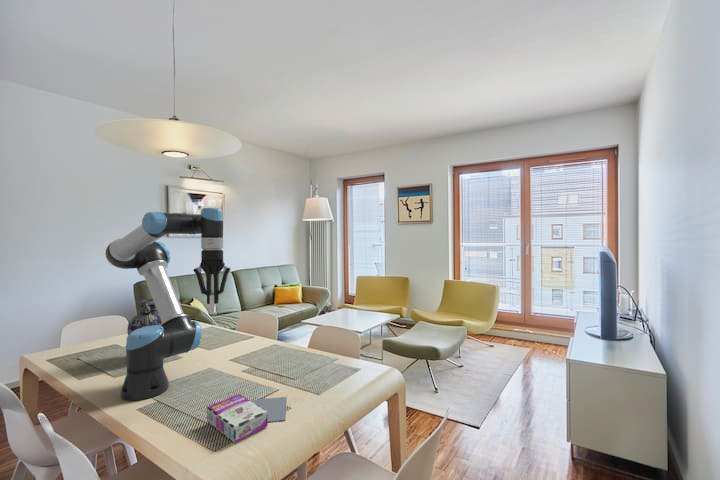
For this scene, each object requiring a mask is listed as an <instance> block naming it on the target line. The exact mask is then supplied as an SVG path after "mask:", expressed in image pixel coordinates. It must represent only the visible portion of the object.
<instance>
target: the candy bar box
mask: <svg viewBox="0 0 720 480" xmlns="http://www.w3.org/2000/svg"><path fill="white" fill-rule="evenodd" d="M250 400H251V399H248V398H246V397H245V396H243V395H241V394H240V393H238V394H236V395H233V396H231V397H229V398H227V399H223V400H221V401H218V402H216V403H214V404H210V405H209V406H206V422H207V423H208V424H209V425H211V426H212V427H213V428H215V429H216V430H217V431H218V432H220V433H221V434H222V435H223V436H224V437H225V438H227V439H228V440H229V441H231V442H232V443H233V444H236V443H238V442H240V441H242V440H244V439H246V438H248V437H250V436H251V435H253V434H255V433H257V432H260V430H263V429H265V428H266V427H268V424H269V422H268V421H267V411H266V410H264V409H263V408H261V407H259V406H258V405H256V404H255V403H253V402H251V401H250Z"/></svg>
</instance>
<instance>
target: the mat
mask: <svg viewBox="0 0 720 480" xmlns="http://www.w3.org/2000/svg"><path fill="white" fill-rule="evenodd" d="M249 400H250V401H251V402H253V403H255V404H256V405H258V406H259V407H261V408H263V409H264V410H266V411H267V421H268V423H276V422H285V421H286V417H287V396H281V397H271V398H261V399H260V398H259V399H249Z"/></svg>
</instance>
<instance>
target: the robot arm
mask: <svg viewBox="0 0 720 480" xmlns="http://www.w3.org/2000/svg"><path fill="white" fill-rule="evenodd" d="M223 214H224V213H223V210H222V209H221V208H219V207H202V209H201V210H200V214H191V213H172V212H171V213H170V212H160V211H153V212H152V211H149V212H146V213H145V214H144V216H143V218H142V220H141V222H142V223H141V224H140V225H139V226H138V227H136V228H135V229H133V230H132V231H131V232H129V233H128V234H127V235H125V236H123V237H121V238H117V239H115V240H113V241H112V242H110V243H109V244H108V245H107V247H106V248H105V257H106V258H105V259H106V260H107V262H109V264H111V265H112V266H113V267H115V268H117V269H125V270H126V269H127V270H128V269H129V270H130V269H137V272H138V275H140V276H142V277H144V280H145V282H146V285H147V287H148V289H149V292H150V295H151V299H153V301H154V303H155V306H156V309H157V311H158V314H159V317H160V319H161V322H162V323H161V325H152V326H147V327H143V328H139V329H137V330H134V331H133V332H131V333H130V334H129V335H128V334H127V336H126V345H125V349H126V351H125V352H126V353H125V354H126V355H125V357H126V359H125V360H126V374H125V377H124V381H123V383H122V386H121V390H120V398H121V399H122V400H125V401H141V400H146V399H150V398H153V397H157V396H160V395H161V394H163V393H165V392H166V391H167V390H168V389H169V387H170V386H169V384H170V383H169V379H168V375H167V373H166V371H165V368H164V359H168V358H171V357H174V356H178V355H181V354H184V353H185V354H186V353H188V352H191V351H194V350H196V349H197V348H198V347H199V346H200V344H201V342H202V336H203V331H202V326H201V324H200V322H199V321H197V320H192V319H191V317H190V315H189V314H186V313H184V311H183V308H182V306H181V303H180V301H179V298H178V296H177V293H176V291H175V288H174V287H173V284H172V281H171V278H170V276H169V273H168V271H167V268H168V266H169V263H170V262H171V261H170V260H171V256H170V254H171V253H170V249H169V248H168V247H167V245H166V244H165V243H164V242H161V241H157V240H159V239H161V238H162V237H164V236H166V235H171V234H172V235H192V236H193V235H200V237H201V238H200V242H201V243H200V244H201V246H200V248H201V249H202V250H201V252H200V253H201V262H200V264H199V266H197V267H195V268H193V272H194V274H195V276H196V279H197V281H198V285H199V290H200V293H201V294H202V295H206V304H207V305H209V314H215V313H216V312H217V311H216V310H217V308H216V307H217V306H216V304H217V305H218V304H219V298H220V297H219V295H221V294H222V293H224V291H225V287H226V284H227V279H228V275H229V273H230V272H231V270H232V268H231V267H228V266H227V265H225V264H226V263H225V262H224V250H223V248H224V237H223V236H224V216H223ZM222 270H223V274H222V278H221V281H220V280H219V279H220V272H221V271H222ZM202 272H204V273H205V278H206V281H204V277H203V274H202ZM212 276H213V292H212ZM205 282H206V283H205ZM219 282H220V283H219ZM219 285H220V287H219Z"/></svg>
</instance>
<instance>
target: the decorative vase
mask: <svg viewBox="0 0 720 480" xmlns="http://www.w3.org/2000/svg"><path fill="white" fill-rule="evenodd" d="M137 305H138V306H140V313H138V314H136V315H134V316H133V317H131V318H130V319H129V321H128V324H127V329H126V330H127V336H128V335H129V334H130V333H131V332H133V331H134V330H137V329H139V328H143V327H147V326H152V325H161V323H162V322H161V319H160V317H159V314H158V311H157V309H156V306H155V303H154V301H153V298H146V299H141V300H139V302H138V303H137Z"/></svg>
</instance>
